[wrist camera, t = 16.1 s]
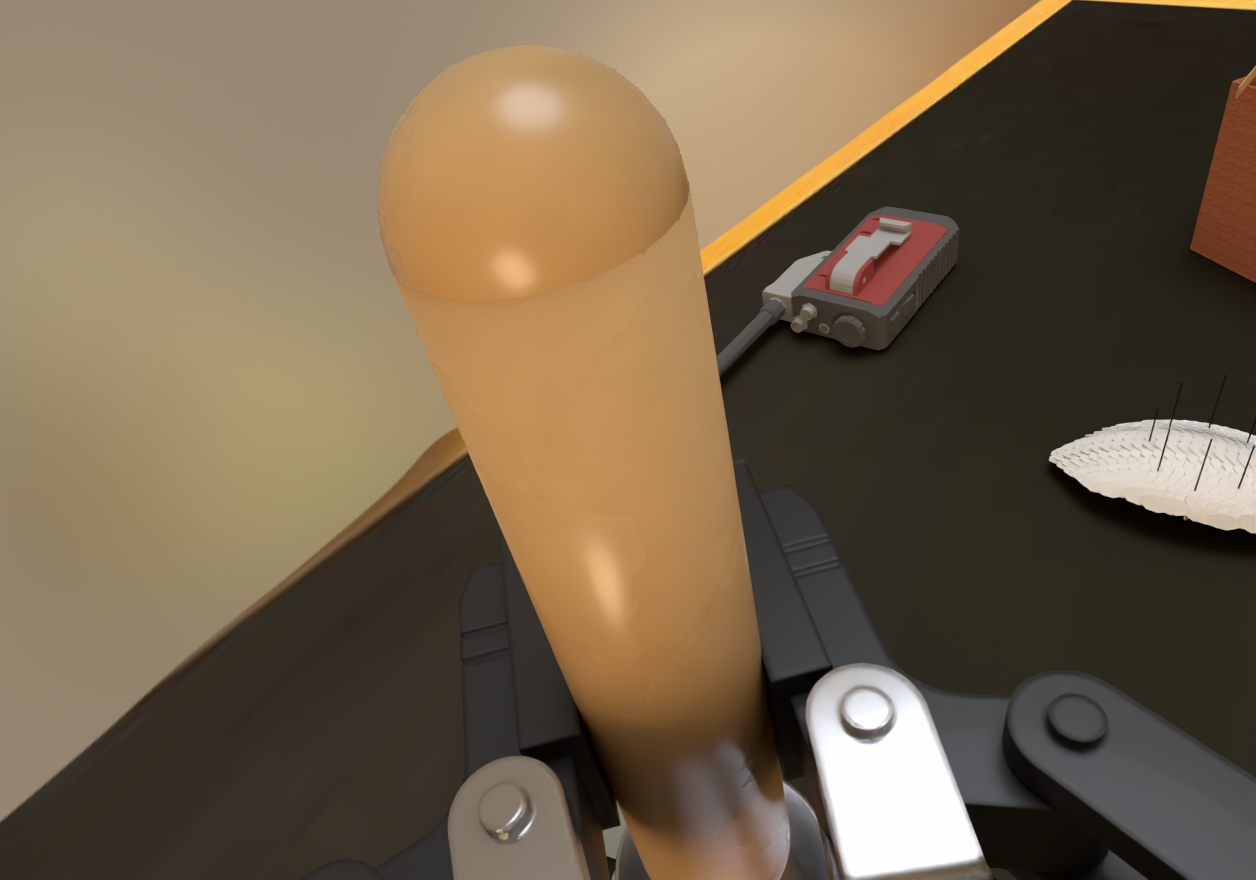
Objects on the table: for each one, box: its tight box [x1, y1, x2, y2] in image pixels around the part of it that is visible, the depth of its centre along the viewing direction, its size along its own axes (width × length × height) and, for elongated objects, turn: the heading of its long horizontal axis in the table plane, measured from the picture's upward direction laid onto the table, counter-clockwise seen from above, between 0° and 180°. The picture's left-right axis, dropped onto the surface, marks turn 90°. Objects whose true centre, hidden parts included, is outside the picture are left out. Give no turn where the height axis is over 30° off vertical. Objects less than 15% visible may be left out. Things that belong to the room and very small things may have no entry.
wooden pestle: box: [377, 44, 830, 880], centre depth 12 cm, size 5×5×18 cm
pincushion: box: [1049, 375, 1256, 534], centre depth 40 cm, size 12×6×6 cm, turn 58°
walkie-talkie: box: [716, 207, 959, 378], centre depth 56 cm, size 9×4×20 cm
